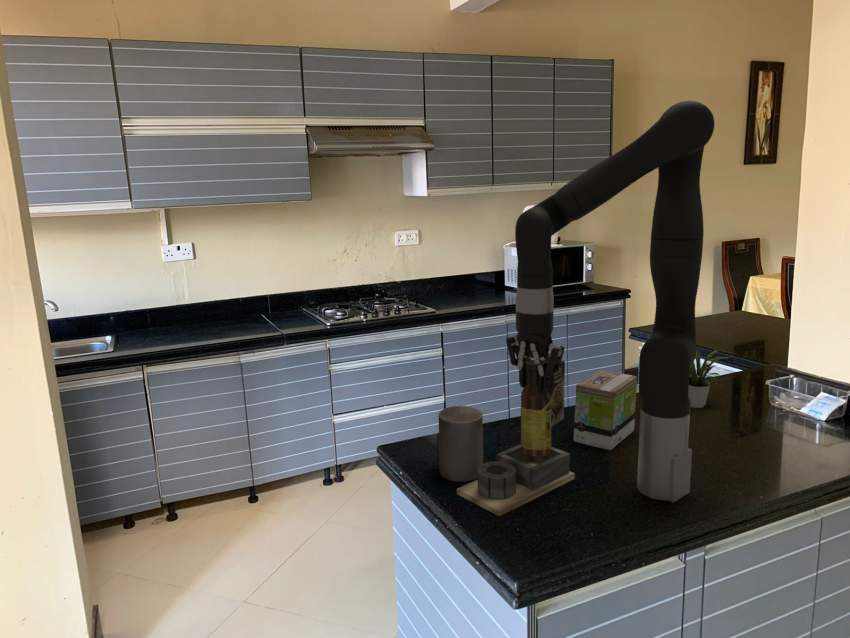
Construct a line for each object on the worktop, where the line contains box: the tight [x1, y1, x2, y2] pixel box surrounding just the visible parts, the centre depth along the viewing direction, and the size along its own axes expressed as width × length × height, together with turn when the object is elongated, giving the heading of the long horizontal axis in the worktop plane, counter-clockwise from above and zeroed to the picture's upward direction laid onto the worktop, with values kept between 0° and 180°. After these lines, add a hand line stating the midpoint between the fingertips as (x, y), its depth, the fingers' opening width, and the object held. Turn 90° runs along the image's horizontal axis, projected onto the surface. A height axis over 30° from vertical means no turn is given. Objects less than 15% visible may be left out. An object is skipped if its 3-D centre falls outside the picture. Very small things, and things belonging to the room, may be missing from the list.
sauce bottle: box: [520, 359, 552, 458], centre depth 134 cm, size 6×6×20 cm
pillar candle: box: [438, 405, 484, 483], centre depth 140 cm, size 10×10×15 cm
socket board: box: [456, 443, 576, 517], centre depth 134 cm, size 12×23×6 cm, turn 130°
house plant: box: [688, 349, 729, 409], centre depth 176 cm, size 14×14×16 cm
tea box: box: [573, 369, 638, 451], centre depth 157 cm, size 15×10×15 cm, turn 143°
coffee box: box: [540, 357, 566, 428], centre depth 167 cm, size 9×6×16 cm
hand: (533, 388), depth 133 cm, fingers closed on sauce bottle, 4 cm apart
